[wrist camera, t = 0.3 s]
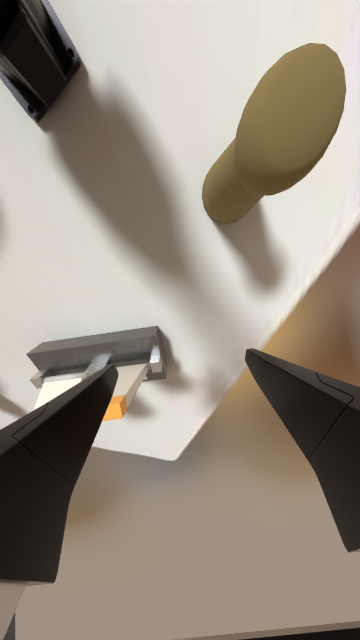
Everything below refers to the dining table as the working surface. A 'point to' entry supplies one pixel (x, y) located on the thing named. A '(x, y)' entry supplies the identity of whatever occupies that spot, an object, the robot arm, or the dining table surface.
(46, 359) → the light switch frame
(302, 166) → the pepper shaker
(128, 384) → the panel
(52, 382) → the white orange-topped slab
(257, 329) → the dining table surface
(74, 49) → the robot arm
